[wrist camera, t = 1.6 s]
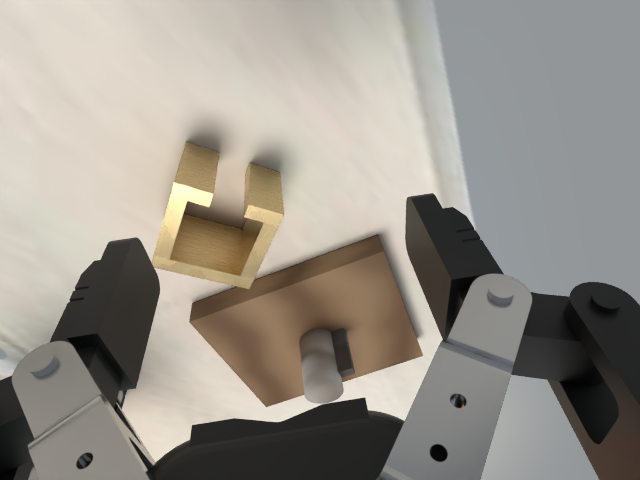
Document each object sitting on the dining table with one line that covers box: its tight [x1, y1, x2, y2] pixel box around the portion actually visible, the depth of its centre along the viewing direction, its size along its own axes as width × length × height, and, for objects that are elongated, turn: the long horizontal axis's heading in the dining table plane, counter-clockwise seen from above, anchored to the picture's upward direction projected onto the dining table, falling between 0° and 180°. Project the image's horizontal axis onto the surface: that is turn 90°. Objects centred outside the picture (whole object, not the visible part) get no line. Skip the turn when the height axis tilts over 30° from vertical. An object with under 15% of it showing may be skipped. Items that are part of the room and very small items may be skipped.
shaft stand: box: [189, 235, 423, 407], centre depth 35 cm, size 16×14×7 cm
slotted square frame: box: [152, 142, 284, 289], centre depth 27 cm, size 6×6×5 cm
